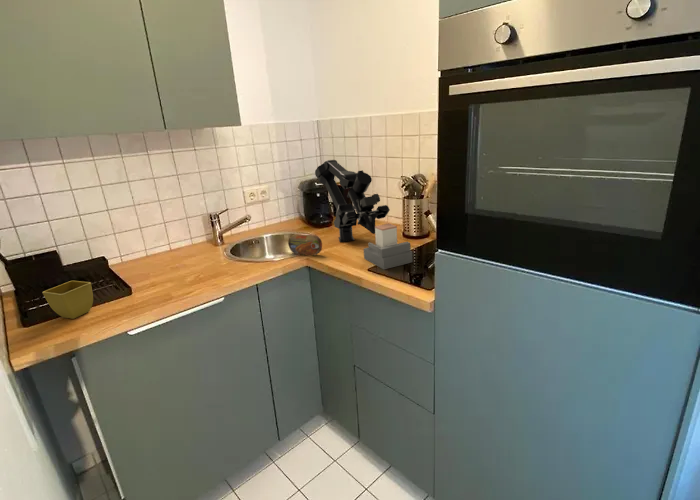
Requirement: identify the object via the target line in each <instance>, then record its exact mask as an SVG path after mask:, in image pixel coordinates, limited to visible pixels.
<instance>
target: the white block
mask: <svg viewBox="0 0 700 500" xmlns="http://www.w3.org/2000/svg"><path fill="white" fill-rule="evenodd" d="M374 235H375V236H374V237H375V245H377V246H379V247H380V248H382V247H386V246H387V245H390V244H394V243H397V244H398V228H397V225H394V224H392V223H385V224H380V225H375V234H374Z"/></svg>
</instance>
